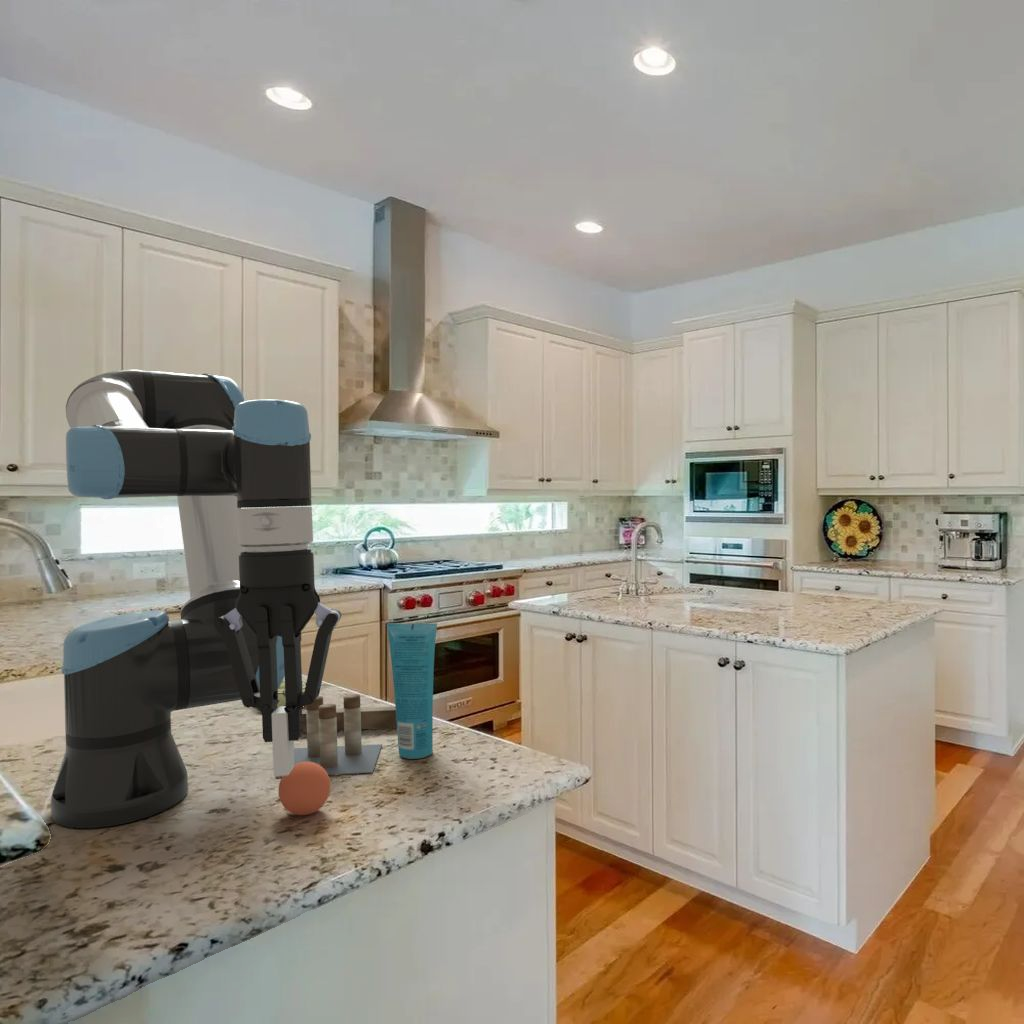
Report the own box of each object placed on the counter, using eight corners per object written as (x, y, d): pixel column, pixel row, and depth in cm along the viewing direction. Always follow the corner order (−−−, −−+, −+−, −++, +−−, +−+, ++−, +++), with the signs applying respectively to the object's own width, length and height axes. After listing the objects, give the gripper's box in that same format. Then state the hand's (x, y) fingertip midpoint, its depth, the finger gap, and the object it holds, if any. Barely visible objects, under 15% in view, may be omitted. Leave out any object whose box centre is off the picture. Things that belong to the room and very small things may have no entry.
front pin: (318, 769, 100) (316, 709, 99) (322, 763, 102) (320, 704, 102) (336, 768, 100) (334, 708, 100) (339, 762, 102) (337, 703, 102)
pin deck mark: (275, 778, 97) (275, 776, 97) (294, 749, 108) (294, 748, 108) (372, 773, 98) (372, 771, 98) (381, 745, 109) (381, 744, 109)
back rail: (284, 733, 116) (283, 714, 116) (287, 729, 118) (286, 711, 118) (409, 727, 117) (408, 709, 117) (410, 723, 119) (409, 705, 119)
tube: (442, 747, 107) (438, 619, 107) (438, 759, 102) (435, 625, 102) (392, 748, 107) (389, 620, 107) (386, 760, 102) (383, 626, 102)
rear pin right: (306, 758, 104) (304, 700, 104) (309, 753, 106) (308, 696, 106) (322, 758, 104) (321, 700, 104) (326, 752, 106) (324, 695, 106)
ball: (273, 825, 83) (271, 774, 83) (286, 803, 89) (284, 755, 89) (326, 822, 83) (324, 771, 83) (335, 801, 89) (333, 753, 89)
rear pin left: (343, 757, 104) (342, 699, 104) (346, 751, 107) (344, 694, 106) (360, 756, 104) (358, 698, 104) (362, 750, 107) (361, 693, 107)
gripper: (200, 552, 72) (208, 788, 72) (332, 548, 72) (340, 780, 73) (225, 548, 79) (232, 761, 79) (344, 544, 80) (352, 755, 80)
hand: (284, 770), depth 76 cm, fingers closed
